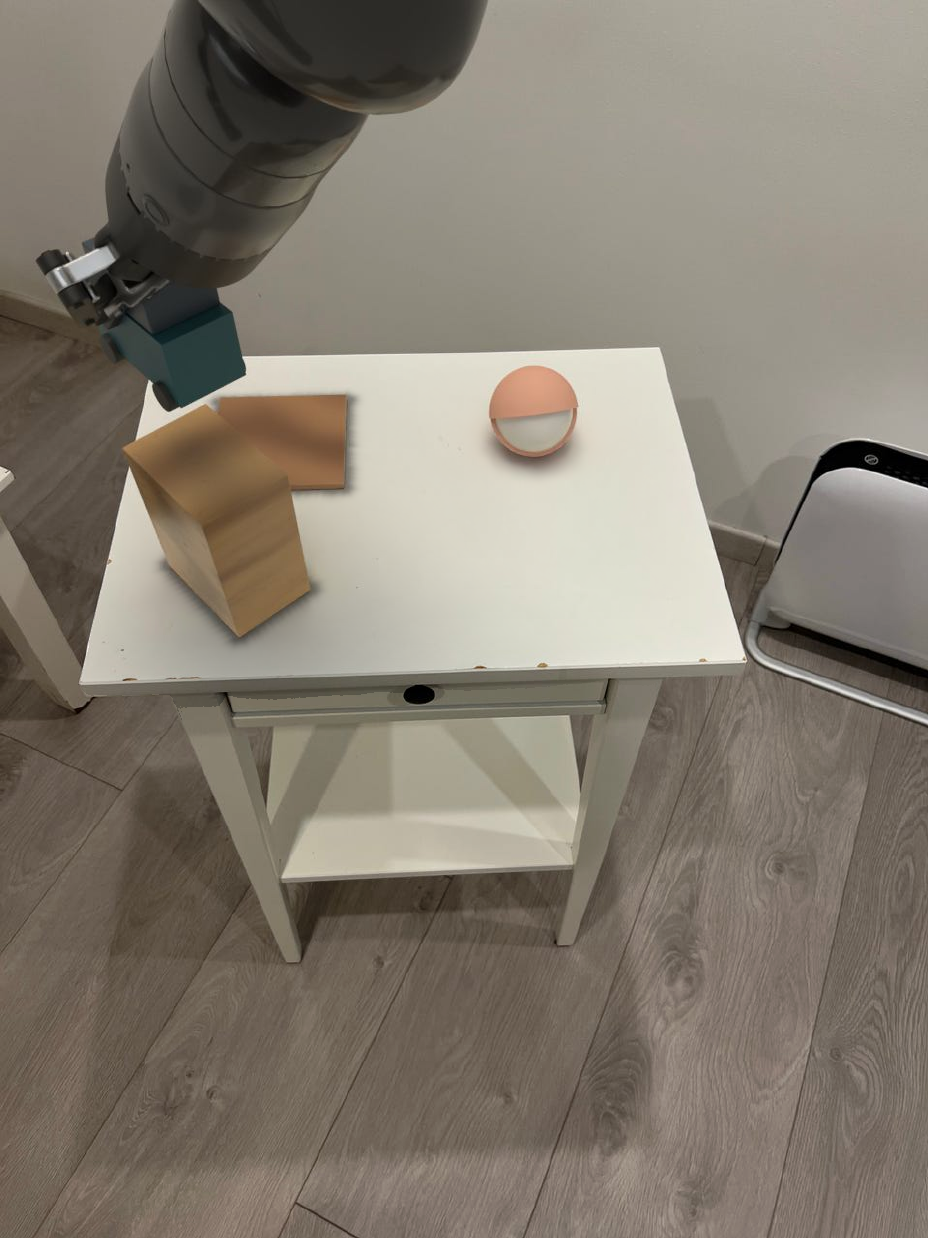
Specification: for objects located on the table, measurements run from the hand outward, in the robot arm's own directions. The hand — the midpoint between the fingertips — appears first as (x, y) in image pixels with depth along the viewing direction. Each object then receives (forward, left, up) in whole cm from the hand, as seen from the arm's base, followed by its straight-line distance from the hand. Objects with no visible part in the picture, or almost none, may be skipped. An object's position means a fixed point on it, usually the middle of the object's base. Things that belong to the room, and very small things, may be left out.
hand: (140, 294), depth 51 cm
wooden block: (0, -2, -25) cm, 25 cm away
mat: (+14, +5, -25) cm, 29 cm away
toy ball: (+26, -14, -25) cm, 39 cm away
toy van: (-1, -2, -4) cm, 5 cm away
